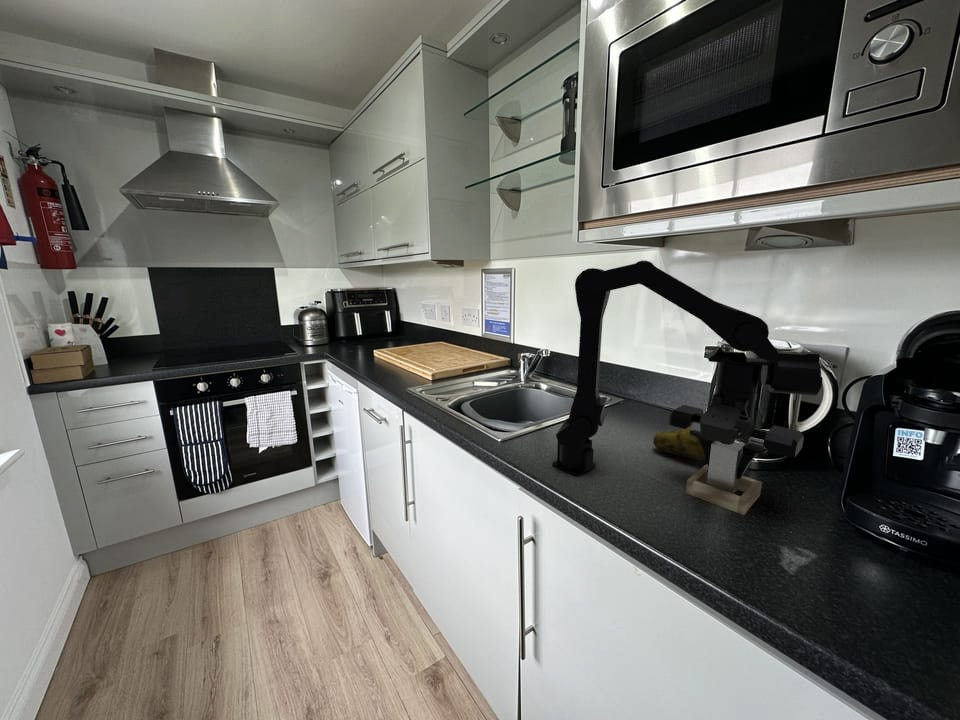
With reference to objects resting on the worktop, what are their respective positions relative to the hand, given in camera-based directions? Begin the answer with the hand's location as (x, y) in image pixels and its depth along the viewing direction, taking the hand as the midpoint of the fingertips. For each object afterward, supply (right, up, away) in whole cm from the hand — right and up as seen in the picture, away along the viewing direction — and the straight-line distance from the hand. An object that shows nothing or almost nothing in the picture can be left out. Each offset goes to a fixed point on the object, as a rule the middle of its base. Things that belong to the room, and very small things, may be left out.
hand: (724, 473), depth 68 cm
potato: (+1, -1, +15) cm, 15 cm away
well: (0, -4, +1) cm, 4 cm away
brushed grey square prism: (0, -2, 0) cm, 2 cm away
